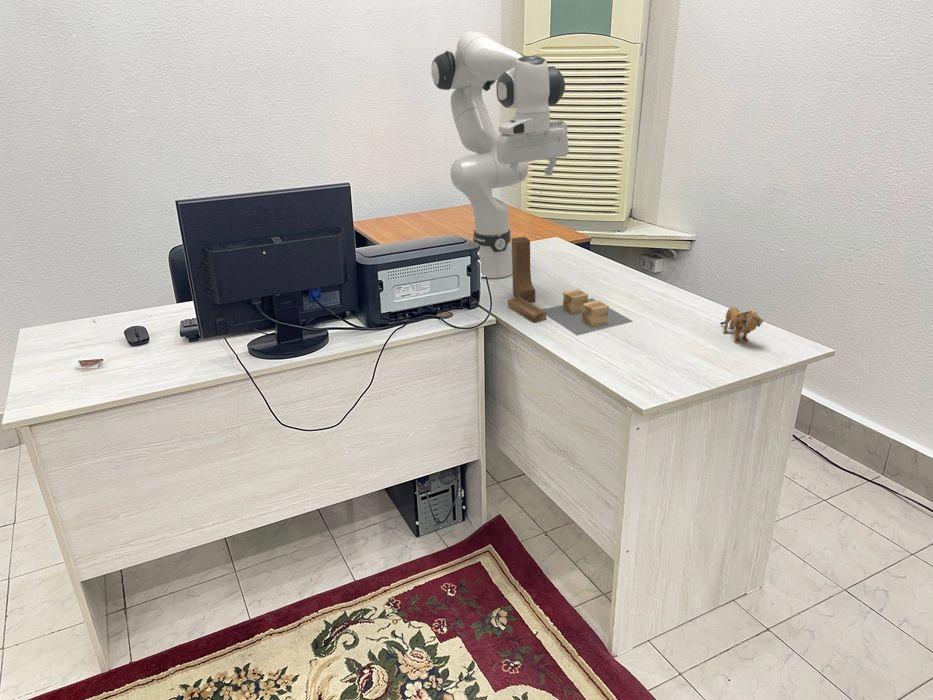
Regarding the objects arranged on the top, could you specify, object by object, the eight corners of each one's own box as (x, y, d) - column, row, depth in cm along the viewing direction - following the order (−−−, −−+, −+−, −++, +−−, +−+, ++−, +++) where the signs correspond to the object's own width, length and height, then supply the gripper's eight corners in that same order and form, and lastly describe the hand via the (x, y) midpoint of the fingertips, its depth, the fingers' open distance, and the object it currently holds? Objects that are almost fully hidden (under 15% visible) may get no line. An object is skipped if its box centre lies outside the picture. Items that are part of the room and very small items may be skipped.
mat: (539, 311, 195) (539, 310, 195) (592, 299, 201) (592, 298, 201) (576, 336, 179) (576, 335, 178) (633, 322, 185) (633, 321, 185)
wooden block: (535, 303, 201) (535, 244, 193) (521, 305, 200) (520, 246, 193) (526, 293, 209) (525, 236, 201) (512, 294, 208) (511, 237, 201)
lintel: (534, 325, 188) (534, 315, 186) (508, 309, 199) (507, 300, 198) (546, 322, 189) (546, 312, 188) (519, 306, 200) (519, 297, 199)
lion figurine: (762, 346, 168) (767, 313, 164) (743, 349, 167) (747, 316, 163) (728, 324, 181) (732, 292, 177) (710, 326, 180) (714, 295, 176)
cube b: (582, 320, 187) (582, 303, 185) (597, 316, 189) (598, 300, 186) (592, 326, 183) (592, 309, 181) (607, 323, 184) (608, 306, 182)
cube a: (563, 308, 195) (563, 292, 193) (578, 305, 197) (578, 289, 195) (572, 314, 191) (572, 297, 189) (587, 310, 193) (588, 294, 191)
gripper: (560, 118, 184) (560, 170, 189) (492, 126, 176) (495, 180, 182) (573, 120, 178) (572, 174, 184) (504, 128, 171) (505, 184, 177)
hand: (533, 177), depth 183 cm, fingers open, 8 cm apart
